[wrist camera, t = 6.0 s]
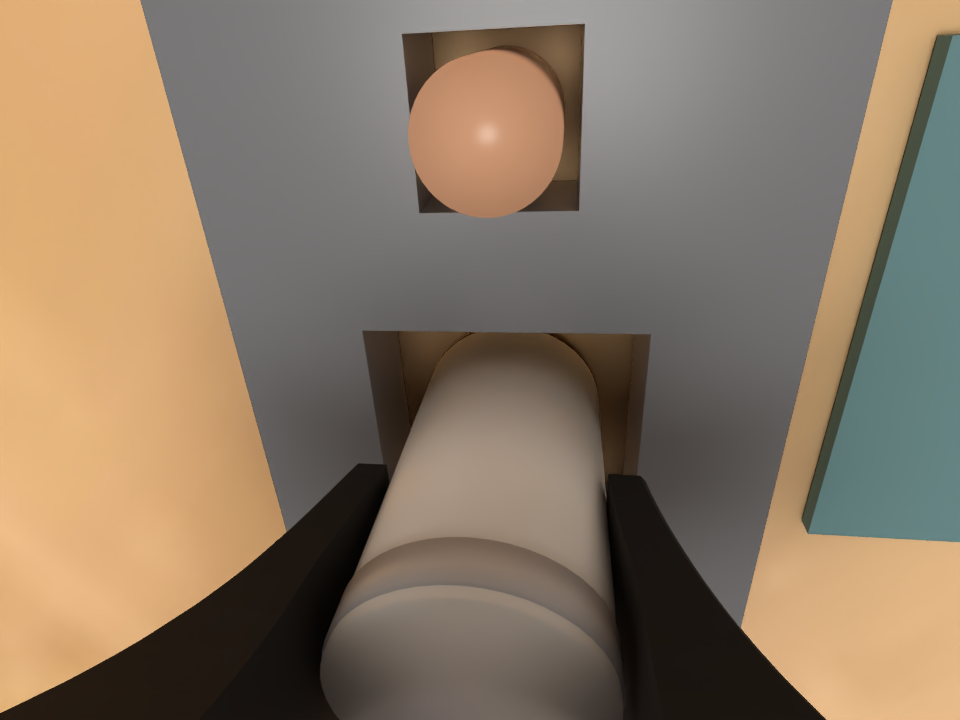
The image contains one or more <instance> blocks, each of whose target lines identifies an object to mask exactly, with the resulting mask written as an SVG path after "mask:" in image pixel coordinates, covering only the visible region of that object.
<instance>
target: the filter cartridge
mask: <svg viewBox="0 0 960 720" xmlns="http://www.w3.org/2000/svg"><path fill="white" fill-rule="evenodd" d="M320 679H321V685H322V689H323V692H324V694H325V697H326V700H327V702H328V703H329V705H330V707H331V708H332V710H333V712H334V713H335V714H336V716H337V717H338V718H339V720H623V713H624V708H625V680H624V669H623V657H622V645H621V638H620V633H619V628H618V626H617V623H616V613H615V601H614V588H613V576H612V563H611V551H610V540H609V527H608V515H607V501H606V489H605V476H604V464H603V451H602V439H601V427H600V414H599V402H598V393H597V387H596V384H595V381H594V378H593V376H592V374H591V372H590V370H589V368H588V367H587V365H586V364H585V362H584V361H583V360H582V358H581V357H580V356H579V355H578V354H577V353H576V352H575V351H574V350H573V349H571V348H570V347H569V346H568V345H566V344H565V343H563V342H562V341H560V340H558V339H557V338H555V337H553V336H550V335H548V334H546V333H510V332H476V333H473V334H471V335H469V336H467V337H465V338H463V339H462V340H460V341H458V342H457V343H456V344H454V345H453V346H452V347H451V348H450V349H449V350H448V351H447V352H446V353H445V354H444V355H443V356H442V358H441V359H440V361H439V362H438V364H437V366H436V368H435V370H434V372H433V375H432V377H431V380H430V382H429V385H428V387H427V390H426V392H425V395H424V397H423V400H422V403H421V405H420V408H419V410H418V413H417V415H416V418H415V420H414V423H413V425H412V428H411V431H410V433H409V436H408V438H407V441H406V443H405V446H404V448H403V451H402V454H401V456H400V459H399V461H398V464H397V466H396V469H395V471H394V474H393V476H392V479H391V482H390V484H389V487H388V489H387V492H386V494H385V497H384V499H383V502H382V504H381V507H380V510H379V512H378V515H377V517H376V520H375V522H374V525H373V527H372V530H371V532H370V535H369V538H368V540H367V543H366V545H365V548H364V550H363V553H362V555H361V558H360V560H359V563H358V566H357V568H356V571H355V573H354V576H353V577H352V579H351V580H350V581H349V583H348V585H347V587H346V589H345V591H344V593H343V595H342V598H341V600H340V603H339V605H338V608H337V610H336V613H335V615H334V618H333V620H332V623H331V625H330V628H329V630H328V633H327V635H326V638H325V641H324V645H323V649H322V660H321V664H320Z"/></svg>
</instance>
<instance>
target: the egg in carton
mask: <svg viewBox="0 0 960 720" xmlns="http://www.w3.org/2000/svg"><path fill="white" fill-rule="evenodd" d="M564 118H565V102H564V96H563V92H562V88H561V85H560V83H559V81H558V78H557V77H556V75H555V73H554V72H553V70H552V69H551V68H550V67H549V65H548V64H547V63H546V62H545V61H544V60H543V59H541V58H540V57H539V56H537V55H536V54H534V53H532V52H530V51H528V50H525V49H522V48H519V47H513V46H501V47H494V48H491V49H487V50H484V51H480V52H477V53H473V54H469V55H466V56H462V57H459V58H457V59H455V60H452V61H450V62H448V63H447V64H445V65H444V66H442V67H441V68H439V69H438V70H437V71H436V72H435V73H434V74H432V76H431V77H430V78H429V79H428V80H427V81H426V82H425V84H424V85H423V87H422V88H421V90H420V91H419V93H418V95H417V97H416V99H415V101H414V104H413V107H412V110H411V114H410V119H409V127H408V143H409V149H410V155H411V158H412V162H413V164H414V167H415V169H416V172H417V174H418V175H419V177H420V179H421V181H422V182H423V184H424V185H425V186H426V188H427V189H428V190H429V191H430V192H431V193H432V194H433V196H434V197H435V198H437V199H438V200H439V201H440V202H442V203H443V204H444V205H446V206H448V207H449V208H451V209H453V210H455V211H457V212H459V213H462V214H465V215H468V216H473V217H478V218H494V217H501V216H506V215H509V214H512V213H515V212H517V211H519V210H521V209H523V208H525V207H526V206H528V205H529V204H531V203H532V202H533V201H534V200H536V199H537V198H538V197H539V196H540V195H541V194H542V193H543V191H544V190H545V189H546V188H547V187H548V185H549V184H550V182H551V180H552V179H553V177H554V175H555V173H556V171H557V168H558V165H559V162H560V159H561V155H562V150H563V139H564Z"/></svg>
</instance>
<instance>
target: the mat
mask: <svg viewBox="0 0 960 720" xmlns="http://www.w3.org/2000/svg"><path fill="white" fill-rule="evenodd" d="M802 522H803V524H804V526H805V529H806V531H807V533H808V534H822V535H840V536H858V537H876V538H894V539H912V540H930V541H948V542H960V34H954V35H938V36H937V40H936V43H935V47H934V50H933V54H932V58H931V61H930V65H929V68H928V72H927V75H926V79H925V83H924V86H923V90H922V93H921V97H920V100H919V104H918V108H917V111H916V115H915V118H914V122H913V125H912V129H911V133H910V136H909V140H908V143H907V147H906V150H905V154H904V158H903V161H902V165H901V168H900V172H899V175H898V179H897V183H896V186H895V190H894V193H893V197H892V200H891V204H890V208H889V211H888V215H887V218H886V222H885V225H884V229H883V233H882V236H881V240H880V243H879V247H878V250H877V254H876V257H875V261H874V265H873V268H872V272H871V275H870V279H869V282H868V286H867V290H866V293H865V297H864V300H863V304H862V307H861V311H860V315H859V318H858V322H857V325H856V329H855V332H854V336H853V340H852V343H851V347H850V350H849V354H848V357H847V361H846V365H845V368H844V372H843V375H842V379H841V382H840V386H839V390H838V393H837V397H836V400H835V404H834V407H833V411H832V415H831V418H830V422H829V425H828V429H827V432H826V436H825V440H824V443H823V447H822V450H821V454H820V457H819V461H818V464H817V468H816V472H815V475H814V479H813V482H812V486H811V489H810V493H809V497H808V500H807V504H806V507H805V511H804V514H803V518H802Z"/></svg>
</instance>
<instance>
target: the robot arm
mask: <svg viewBox="0 0 960 720" xmlns="http://www.w3.org/2000/svg"><path fill="white" fill-rule="evenodd" d="M389 484H390V483H389V476H388V470H387V464H364V463H358V464H357V465H356V466H355V467H354V468H353V469H352V470H351V471H350V472H348V473H347V474H346V475H345V476H344V477H343V478H342V479H341V480H340V481H339V482H338V483H337V484H336V485H335V486H334V487H333V488H332V489H331V490H330V491H329V492H328V493H327V494H326V495H325V496H324V497H323V498H322V499H321V500H320V501H319V502H318V503H317V504H316V505H315V506H314V507H313V508H312V509H311V510H310V511H309V512H308V513H307V514H305V515H304V516H303V517H302V518H301V519H300V520H299V521H298V522H297V523H296V524H295V525H294V526H293V527H292V528H291V529H290V530H288V531H287V532H286V533H285V534H284V535H283V536H282V537H281V538H280V539H279V540H277V541H276V542H275V543H274V544H273V545H272V546H270V547H269V548H268V549H267V550H266V551H265V552H263V553H262V554H261V555H260V556H259V557H258V558H256V559H255V560H254V561H253V562H252V563H251V564H249V565H248V566H247V567H246V568H245V569H243V570H242V571H241V572H239V573H238V574H237V575H236V576H234V577H233V578H232V579H230V580H229V581H228V582H226V583H225V584H224V585H222V586H221V587H220V588H218V589H217V590H215V591H214V592H213V593H211V594H210V595H209V596H207V597H206V598H205V599H203V600H202V601H200V602H199V603H197V604H196V605H195V606H193V607H191V608H190V609H188V610H187V611H185V612H184V613H182V614H181V615H179V616H178V617H176V618H174V619H173V620H171V621H170V622H168V623H167V624H165V625H164V626H162V627H160V628H159V629H157V630H156V631H154V632H153V633H151V634H150V635H148V636H147V637H145V638H143V639H142V640H140V641H138V642H136V643H135V644H133V645H131V646H130V647H128V648H126V649H124V650H123V651H121V652H119V653H118V654H116V655H114V656H112V657H110V658H109V659H107V660H105V661H103V662H101V663H100V664H98V665H96V666H94V667H92V668H90V669H89V670H87V671H85V672H83V673H81V674H79V675H77V676H75V677H73V678H72V679H70V680H68V681H66V682H64V683H62V684H60V685H58V686H56V687H54V688H51V689H49V690H47V691H45V692H43V693H41V694H39V695H37V696H35V697H33V698H31V699H29V700H27V701H25V702H23V703H21V704H19V705H16V706H14V707H12V708H10V709H8V710H6V711H4V712H2V713H0V720H339V718H338V717H337V716H336V714H335V713H334V712H333V710H332V708H331V707H330V705H329V703H328V702H327V700H326V697H325V694H324V692H323V689H322V685H321V679H320V664H321V660H322V649H323V645H324V641H325V638H326V635H327V633H328V630H329V628H330V625H331V623H332V620H333V618H334V615H335V613H336V610H337V608H338V605H339V603H340V600H341V598H342V595H343V593H344V591H345V589H346V587H347V585H348V583H349V581H350V580H351V579H352V577H353V576H354V573H355V571H356V568H357V566H358V563H359V560H360V558H361V555H362V553H363V550H364V548H365V545H366V543H367V540H368V538H369V535H370V532H371V530H372V527H373V525H374V522H375V520H376V517H377V515H378V512H379V510H380V507H381V504H382V502H383V499H384V497H385V494H386V492H387V489H388V487H389ZM607 515H608V527H609V540H610V551H611V563H612V576H613V588H614V601H615V613H616V623H617V626H618V628H619V633H620V638H621V645H622V657H623V669H624V680H625V708H624V713H623V720H826V719H825V718H824V717H823V716H822V715H821V714H820V713H819V712H818V711H817V710H816V709H815V708H814V707H813V706H812V705H811V704H810V703H809V702H808V701H807V700H806V699H805V698H804V697H803V696H802V695H801V694H800V693H799V692H798V691H797V690H796V689H795V688H794V687H793V686H792V685H791V684H790V683H789V682H788V681H787V680H786V679H785V678H784V677H783V676H782V675H781V674H780V673H779V672H778V670H777V669H776V668H775V667H774V666H773V665H772V664H771V663H770V662H769V660H768V659H767V658H766V657H765V656H764V655H763V654H762V653H761V652H760V650H759V649H758V648H757V647H756V646H755V645H754V644H753V642H752V641H751V640H750V639H749V638H748V636H747V635H746V634H745V633H744V632H743V630H742V629H741V628H740V627H739V626H738V625H737V623H736V622H735V621H734V620H733V618H732V617H731V616H730V615H729V613H728V612H727V611H726V609H725V608H724V607H723V605H722V604H721V603H720V602H719V600H718V599H717V597H716V596H715V595H714V593H713V592H712V591H711V589H710V588H709V587H708V585H707V584H706V582H705V581H704V580H703V578H702V577H701V575H700V574H699V572H698V571H697V570H696V568H695V567H694V565H693V564H692V562H691V561H690V559H689V557H688V556H687V554H686V553H685V551H684V550H683V548H682V547H681V545H680V543H679V542H678V540H677V539H676V537H675V536H674V534H673V532H672V531H671V529H670V527H669V525H668V524H667V522H666V520H665V518H664V517H663V515H662V513H661V511H660V509H659V508H658V506H657V504H656V502H655V500H654V498H653V496H652V494H651V492H650V490H649V487H648V485H647V483H646V481H645V480H644V479H643V478H642V477H641V476H635V475H613V474H608V487H607Z"/></svg>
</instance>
